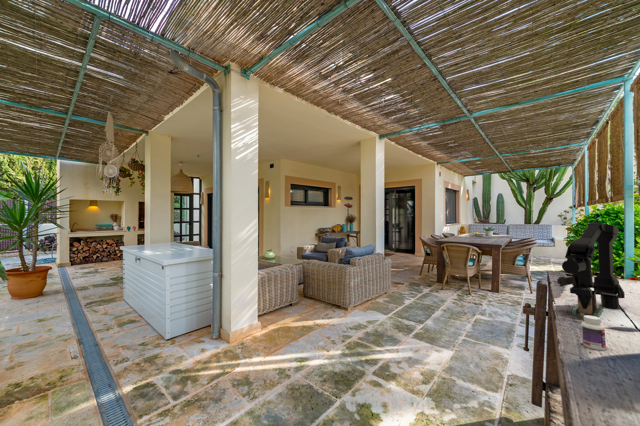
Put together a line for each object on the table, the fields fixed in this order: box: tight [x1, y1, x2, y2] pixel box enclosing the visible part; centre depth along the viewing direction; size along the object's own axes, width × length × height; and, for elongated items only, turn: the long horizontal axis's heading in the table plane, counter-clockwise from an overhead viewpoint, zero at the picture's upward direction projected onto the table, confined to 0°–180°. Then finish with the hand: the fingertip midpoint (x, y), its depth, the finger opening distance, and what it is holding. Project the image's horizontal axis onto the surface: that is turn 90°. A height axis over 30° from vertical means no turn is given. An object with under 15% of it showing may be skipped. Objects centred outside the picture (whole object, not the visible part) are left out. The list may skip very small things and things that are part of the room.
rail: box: [571, 303, 604, 318], centre depth 118 cm, size 16×8×3 cm, turn 128°
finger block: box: [577, 296, 593, 314], centre depth 114 cm, size 3×4×8 cm
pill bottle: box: [580, 315, 607, 351], centre depth 88 cm, size 5×5×10 cm
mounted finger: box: [592, 292, 598, 311], centre depth 121 cm, size 3×4×8 cm
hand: (585, 307), depth 114 cm, fingers closed on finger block, 3 cm apart
